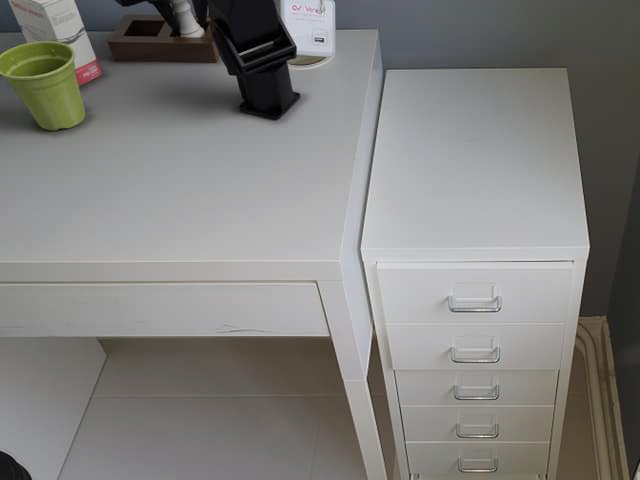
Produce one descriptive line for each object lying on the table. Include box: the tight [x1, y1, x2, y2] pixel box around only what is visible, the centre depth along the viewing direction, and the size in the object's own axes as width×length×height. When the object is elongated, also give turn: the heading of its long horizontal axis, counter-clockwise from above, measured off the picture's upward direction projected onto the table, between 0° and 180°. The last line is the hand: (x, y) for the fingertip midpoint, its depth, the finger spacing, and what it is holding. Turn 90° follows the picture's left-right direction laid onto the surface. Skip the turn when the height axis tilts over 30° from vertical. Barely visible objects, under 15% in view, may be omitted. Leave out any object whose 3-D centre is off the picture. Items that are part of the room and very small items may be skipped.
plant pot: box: [0, 41, 86, 131], centre depth 96 cm, size 9×9×9 cm
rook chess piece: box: [170, 0, 205, 38], centre depth 109 cm, size 4×4×8 cm
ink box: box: [7, 0, 103, 88], centre depth 103 cm, size 9×5×12 cm, turn 58°
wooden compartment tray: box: [106, 13, 221, 64], centre depth 111 cm, size 9×15×3 cm, turn 90°
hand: (190, 31), depth 111 cm, fingers closed on rook chess piece, 4 cm apart
